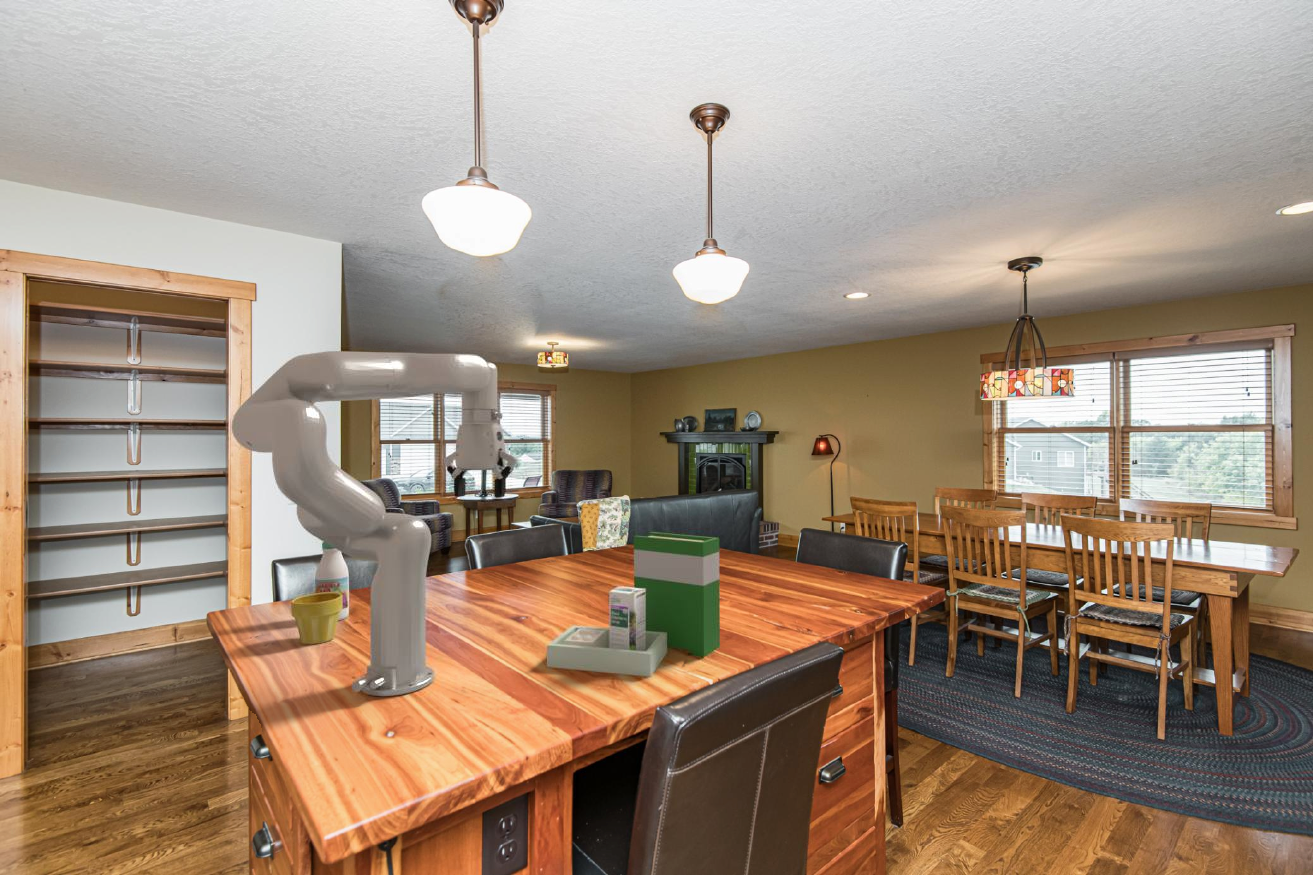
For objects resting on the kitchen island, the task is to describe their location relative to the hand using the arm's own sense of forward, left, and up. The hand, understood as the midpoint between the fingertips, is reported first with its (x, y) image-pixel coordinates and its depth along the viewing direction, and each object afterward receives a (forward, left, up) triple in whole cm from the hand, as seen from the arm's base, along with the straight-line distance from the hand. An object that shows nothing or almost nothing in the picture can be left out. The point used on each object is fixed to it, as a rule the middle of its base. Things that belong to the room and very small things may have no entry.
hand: (479, 496), depth 130 cm
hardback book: (+13, -41, -34) cm, 55 cm away
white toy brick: (-1, -25, -32) cm, 41 cm away
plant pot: (-3, +40, -34) cm, 52 cm away
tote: (-1, -30, -33) cm, 45 cm away
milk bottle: (+12, +50, -34) cm, 61 cm away
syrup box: (-1, -34, -33) cm, 47 cm away
